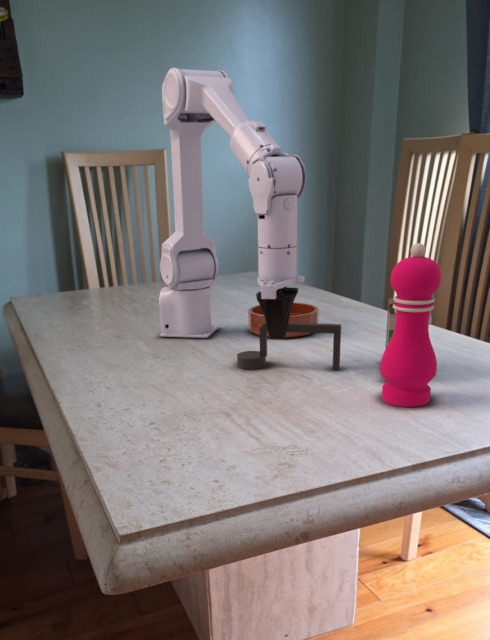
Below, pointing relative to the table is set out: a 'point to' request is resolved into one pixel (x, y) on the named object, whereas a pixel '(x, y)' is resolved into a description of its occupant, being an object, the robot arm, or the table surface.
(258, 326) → the bowl
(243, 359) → the dark grey bent bar
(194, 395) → the table surface
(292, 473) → the table surface
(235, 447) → the table surface
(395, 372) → the pepper mill
